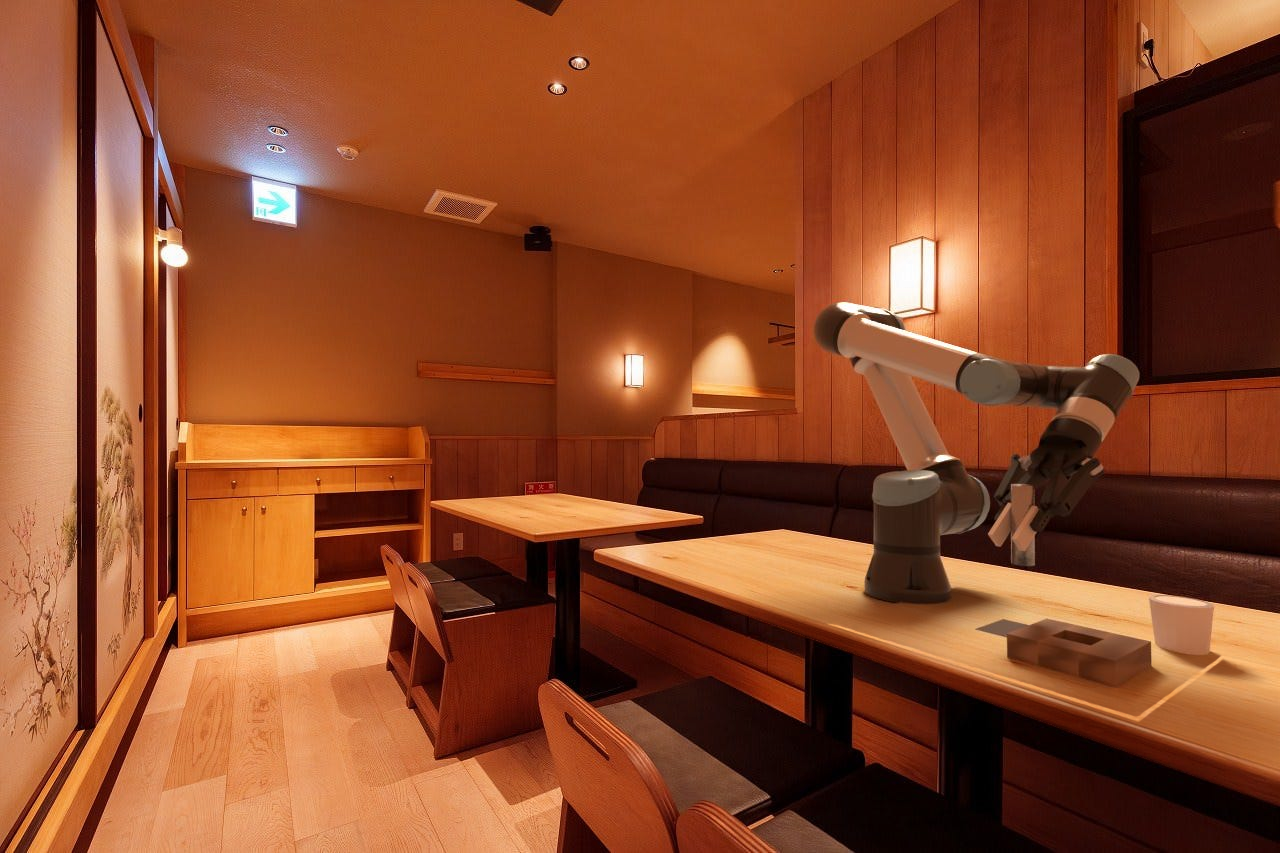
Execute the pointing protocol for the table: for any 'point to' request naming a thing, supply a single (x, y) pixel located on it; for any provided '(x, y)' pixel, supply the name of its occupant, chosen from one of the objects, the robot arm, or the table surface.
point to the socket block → (1080, 651)
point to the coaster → (1002, 627)
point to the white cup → (1182, 623)
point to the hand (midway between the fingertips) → (1006, 542)
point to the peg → (1019, 508)
